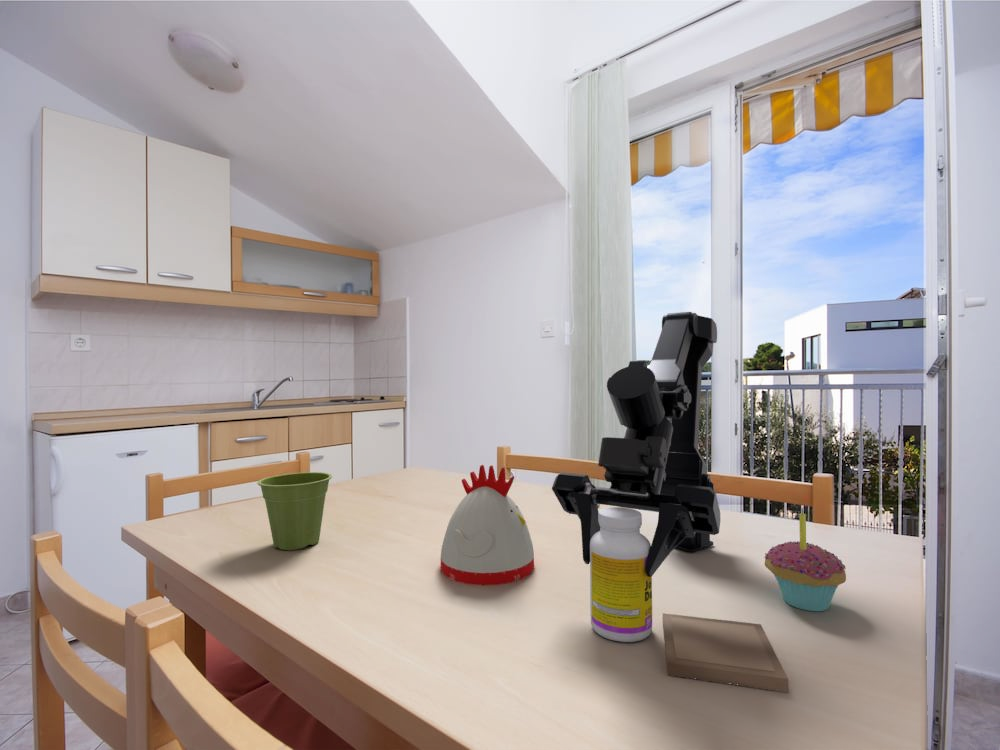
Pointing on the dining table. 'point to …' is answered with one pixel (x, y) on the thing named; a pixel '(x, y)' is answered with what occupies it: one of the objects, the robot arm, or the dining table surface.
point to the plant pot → (295, 507)
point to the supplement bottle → (620, 577)
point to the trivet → (721, 652)
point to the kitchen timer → (487, 535)
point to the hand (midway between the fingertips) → (615, 568)
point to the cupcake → (805, 572)
